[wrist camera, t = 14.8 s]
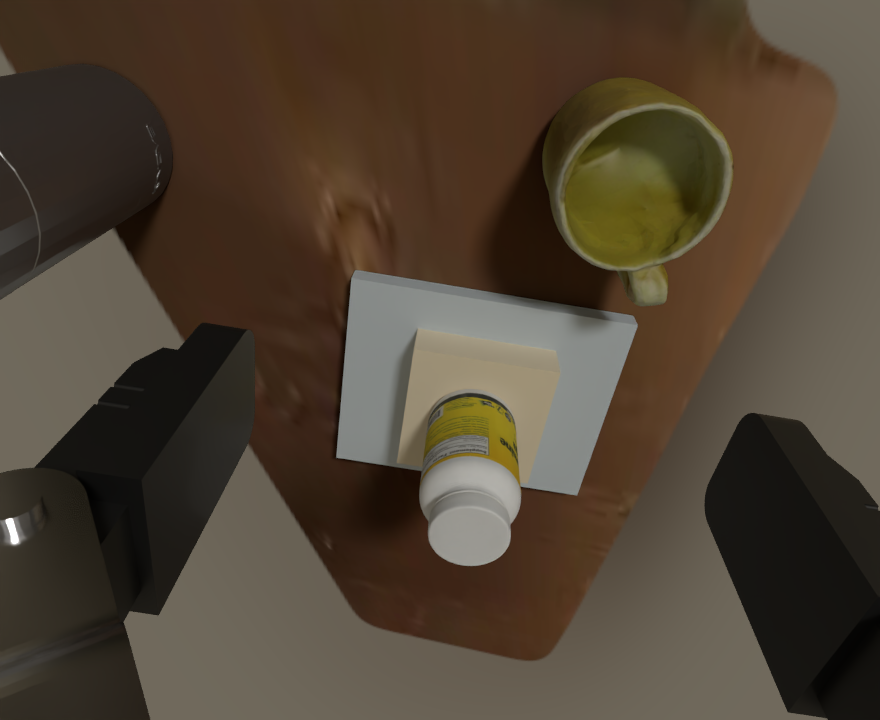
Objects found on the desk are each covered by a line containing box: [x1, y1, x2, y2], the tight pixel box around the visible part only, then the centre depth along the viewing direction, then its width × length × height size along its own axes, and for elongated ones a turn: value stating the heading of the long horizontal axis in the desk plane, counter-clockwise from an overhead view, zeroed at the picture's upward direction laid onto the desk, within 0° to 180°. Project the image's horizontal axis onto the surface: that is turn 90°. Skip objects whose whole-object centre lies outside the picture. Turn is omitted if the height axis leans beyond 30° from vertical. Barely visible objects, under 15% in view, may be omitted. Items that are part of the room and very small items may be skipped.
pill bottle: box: [419, 389, 521, 566], centre depth 40 cm, size 6×6×11 cm
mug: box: [542, 78, 734, 306], centre depth 36 cm, size 12×10×10 cm
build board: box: [336, 270, 638, 495], centre depth 46 cm, size 20×16×4 cm
